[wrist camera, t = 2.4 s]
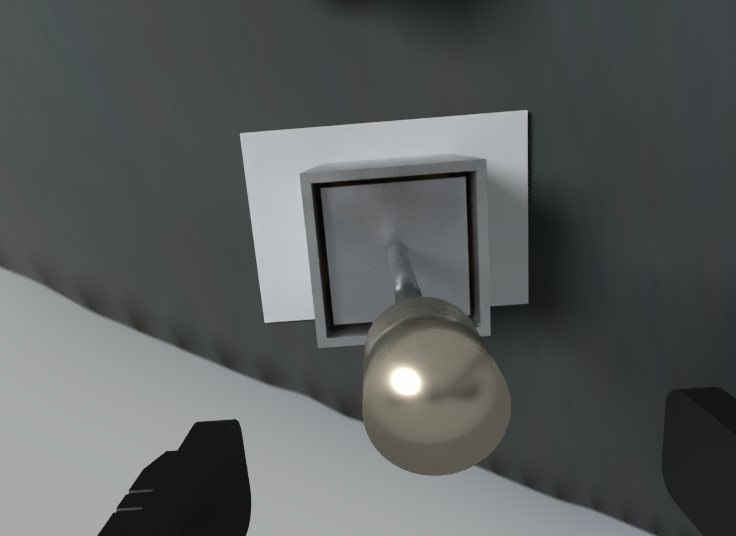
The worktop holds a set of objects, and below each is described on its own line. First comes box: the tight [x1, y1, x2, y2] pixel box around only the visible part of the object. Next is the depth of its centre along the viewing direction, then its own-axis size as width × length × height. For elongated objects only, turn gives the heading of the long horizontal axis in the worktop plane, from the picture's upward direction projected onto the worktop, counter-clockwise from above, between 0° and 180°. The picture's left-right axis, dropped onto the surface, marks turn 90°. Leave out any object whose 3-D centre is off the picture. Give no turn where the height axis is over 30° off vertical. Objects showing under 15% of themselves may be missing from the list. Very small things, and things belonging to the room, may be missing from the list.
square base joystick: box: [299, 153, 491, 348], centre depth 32 cm, size 9×9×12 cm
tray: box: [240, 110, 528, 323], centre depth 38 cm, size 20×14×1 cm
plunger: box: [321, 176, 511, 476], centre depth 19 cm, size 7×7×17 cm
